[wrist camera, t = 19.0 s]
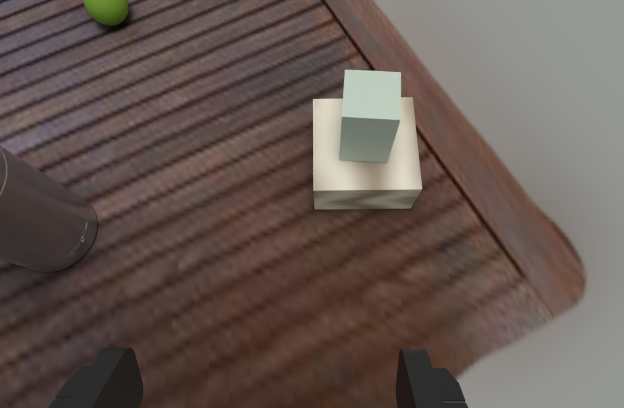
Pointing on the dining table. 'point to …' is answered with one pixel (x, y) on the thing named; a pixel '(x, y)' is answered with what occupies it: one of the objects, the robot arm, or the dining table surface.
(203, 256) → the dining table surface
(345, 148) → the sage block
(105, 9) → the snail figurine
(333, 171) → the birch block
